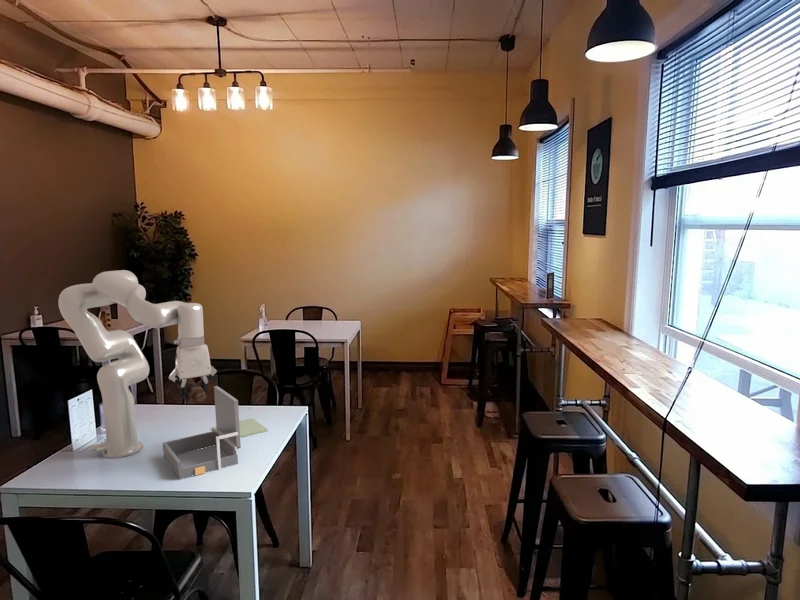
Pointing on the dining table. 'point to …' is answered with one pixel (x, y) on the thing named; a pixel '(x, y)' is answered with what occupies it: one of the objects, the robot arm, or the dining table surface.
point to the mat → (249, 427)
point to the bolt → (194, 391)
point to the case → (210, 439)
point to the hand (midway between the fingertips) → (194, 395)
